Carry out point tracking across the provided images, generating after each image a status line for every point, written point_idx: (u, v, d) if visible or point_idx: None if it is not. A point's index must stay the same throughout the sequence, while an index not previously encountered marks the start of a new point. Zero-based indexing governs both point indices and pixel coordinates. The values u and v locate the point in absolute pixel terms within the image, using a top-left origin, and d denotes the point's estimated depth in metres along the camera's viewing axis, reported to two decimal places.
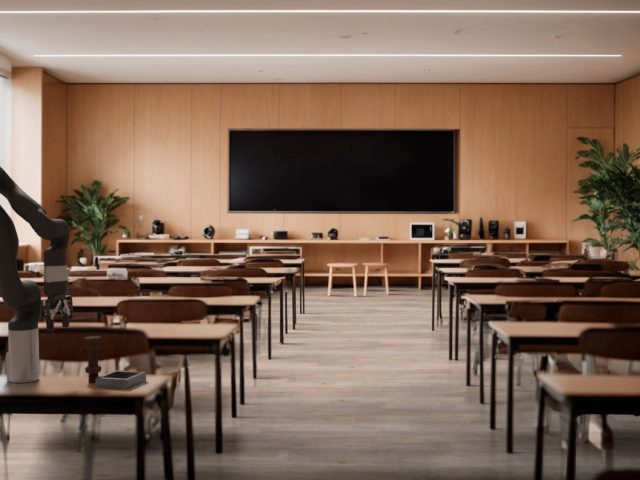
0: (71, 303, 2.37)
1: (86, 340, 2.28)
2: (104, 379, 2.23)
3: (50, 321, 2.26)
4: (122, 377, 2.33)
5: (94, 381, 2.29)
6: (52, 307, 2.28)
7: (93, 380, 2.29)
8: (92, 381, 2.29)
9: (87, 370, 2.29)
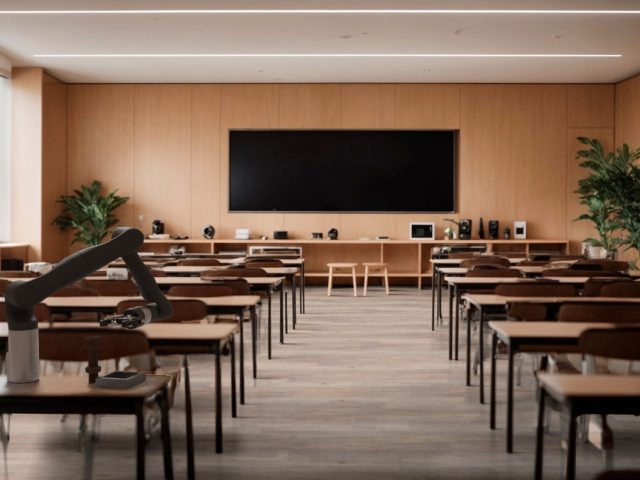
0: None
1: (86, 340, 2.28)
2: (104, 379, 2.23)
3: (129, 325, 2.42)
4: (122, 377, 2.33)
5: (94, 381, 2.29)
6: None
7: (93, 380, 2.29)
8: (92, 381, 2.29)
9: (87, 370, 2.29)
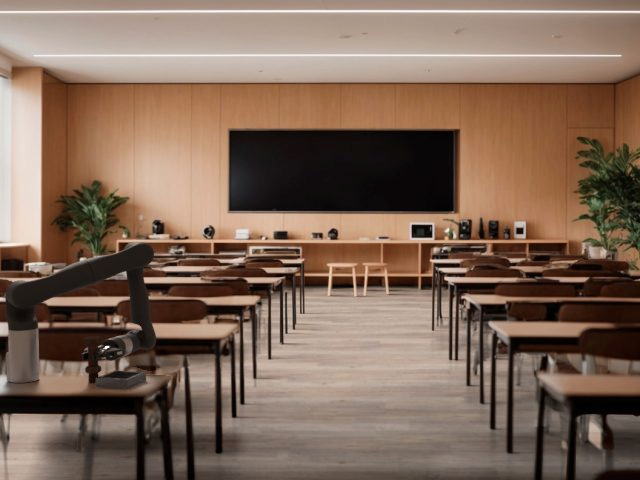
0: None
1: (86, 340, 2.28)
2: (104, 379, 2.23)
3: (100, 357, 2.30)
4: (122, 377, 2.33)
5: (94, 381, 2.29)
6: None
7: (93, 380, 2.29)
8: (92, 381, 2.29)
9: (87, 370, 2.29)
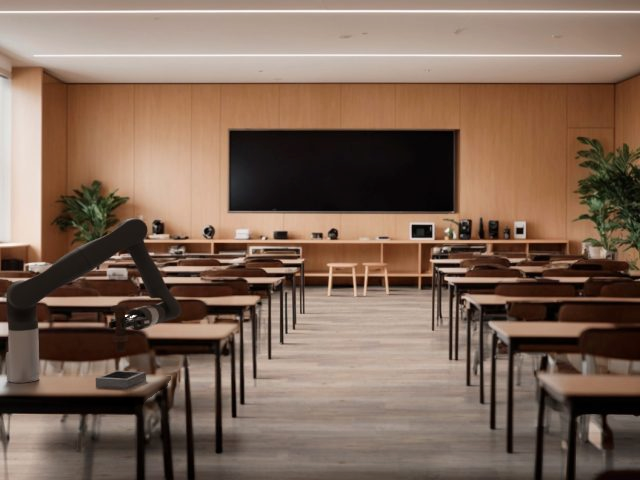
0: None
1: (114, 308, 2.25)
2: (104, 379, 2.23)
3: None
4: (122, 377, 2.33)
5: (122, 350, 2.27)
6: None
7: (121, 349, 2.27)
8: (120, 350, 2.27)
9: (115, 339, 2.26)
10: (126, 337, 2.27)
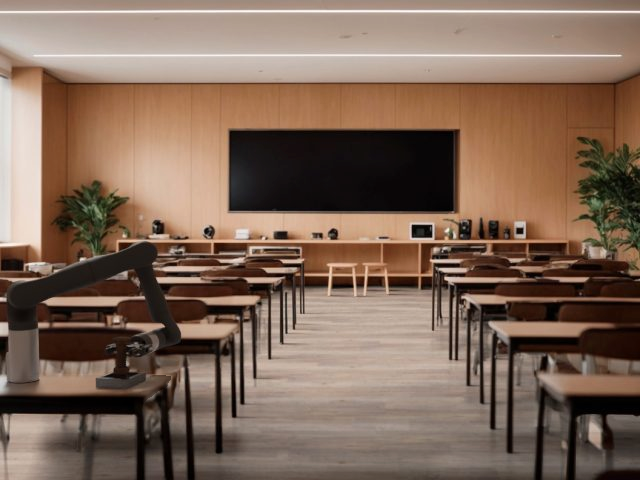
0: (113, 351, 2.35)
1: (115, 341, 2.26)
2: (104, 379, 2.23)
3: (136, 353, 2.28)
4: None
5: None
6: None
7: None
8: None
9: (115, 371, 2.27)
10: (127, 369, 2.28)
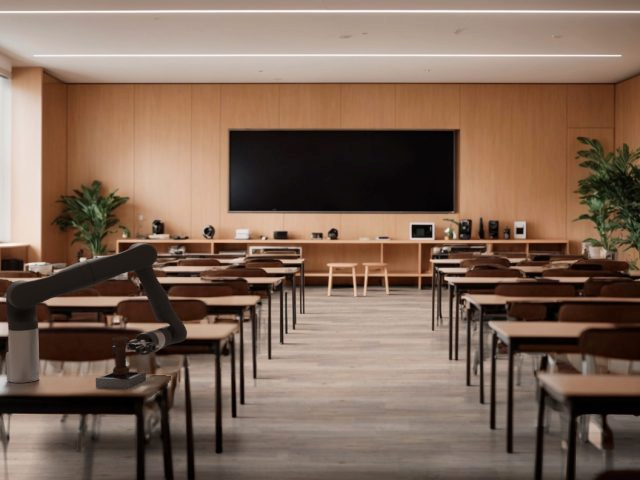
0: None
1: (114, 341, 2.26)
2: (104, 379, 2.23)
3: None
4: None
5: None
6: None
7: None
8: None
9: (115, 371, 2.27)
10: (126, 369, 2.28)
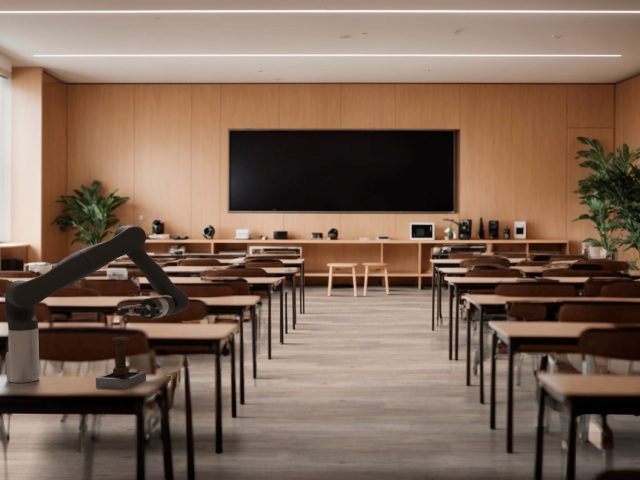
0: (125, 313, 2.48)
1: (114, 341, 2.26)
2: (104, 379, 2.23)
3: None
4: None
5: None
6: None
7: None
8: None
9: (115, 371, 2.27)
10: (126, 369, 2.28)
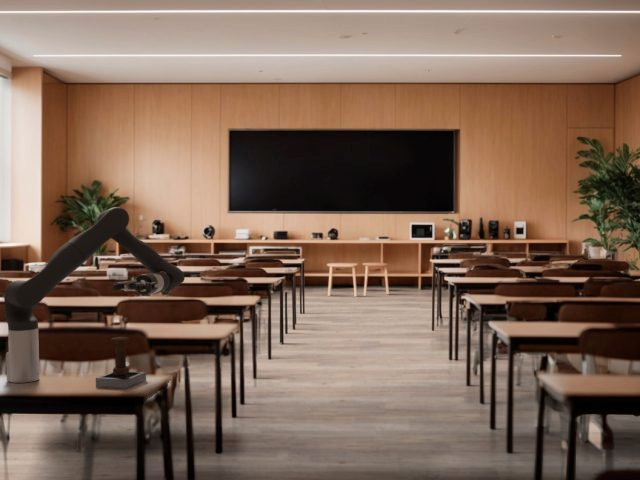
0: None
1: (114, 341, 2.26)
2: (104, 379, 2.23)
3: None
4: None
5: None
6: None
7: None
8: None
9: (115, 371, 2.27)
10: (126, 369, 2.28)
